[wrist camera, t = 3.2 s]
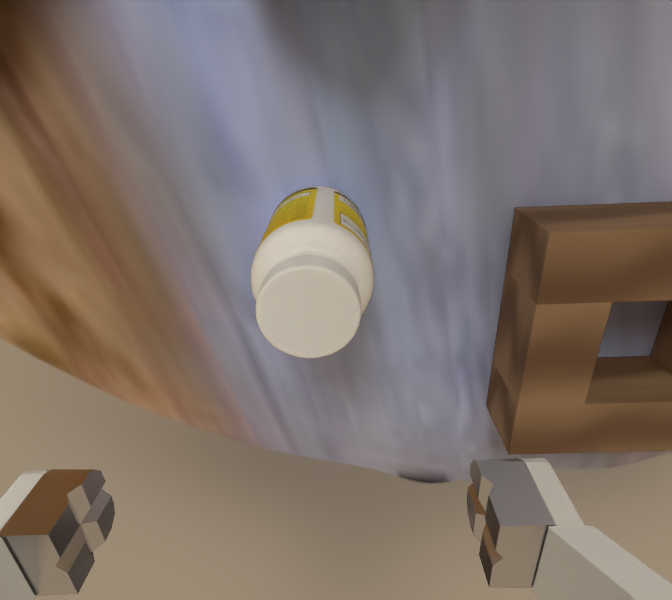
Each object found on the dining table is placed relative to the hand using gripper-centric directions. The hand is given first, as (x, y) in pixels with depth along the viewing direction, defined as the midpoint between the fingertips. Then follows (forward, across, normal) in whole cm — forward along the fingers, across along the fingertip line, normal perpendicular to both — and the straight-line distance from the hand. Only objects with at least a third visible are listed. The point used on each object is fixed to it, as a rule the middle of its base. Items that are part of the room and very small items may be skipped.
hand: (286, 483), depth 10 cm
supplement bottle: (+18, 0, 0) cm, 18 cm away
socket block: (+17, -18, +6) cm, 26 cm away
